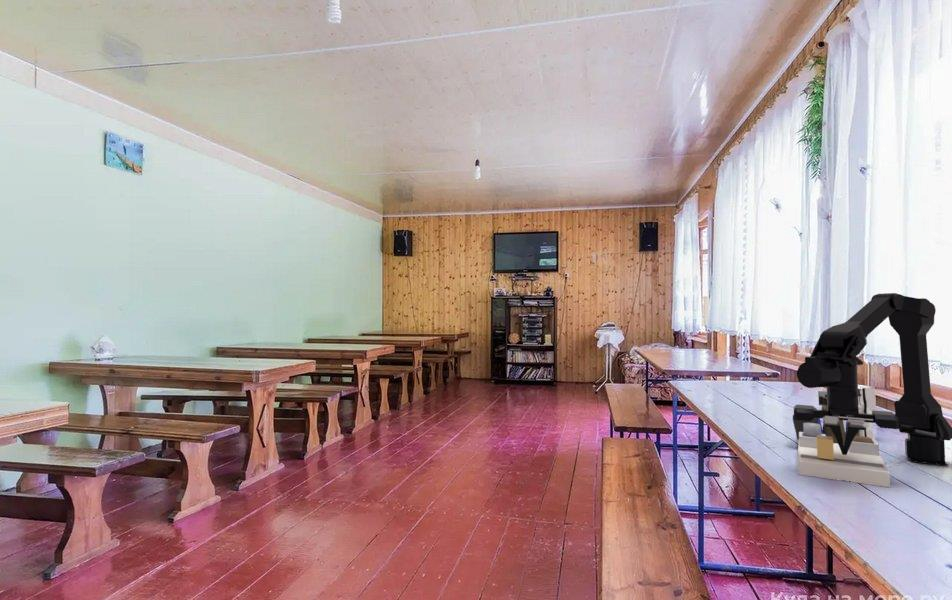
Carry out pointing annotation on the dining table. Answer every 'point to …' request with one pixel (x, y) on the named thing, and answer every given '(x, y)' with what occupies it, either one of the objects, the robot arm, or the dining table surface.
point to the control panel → (844, 462)
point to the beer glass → (866, 408)
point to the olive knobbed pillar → (828, 431)
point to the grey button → (812, 429)
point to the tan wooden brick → (825, 447)
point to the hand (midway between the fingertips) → (844, 454)
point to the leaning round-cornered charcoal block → (799, 425)
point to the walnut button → (862, 439)
